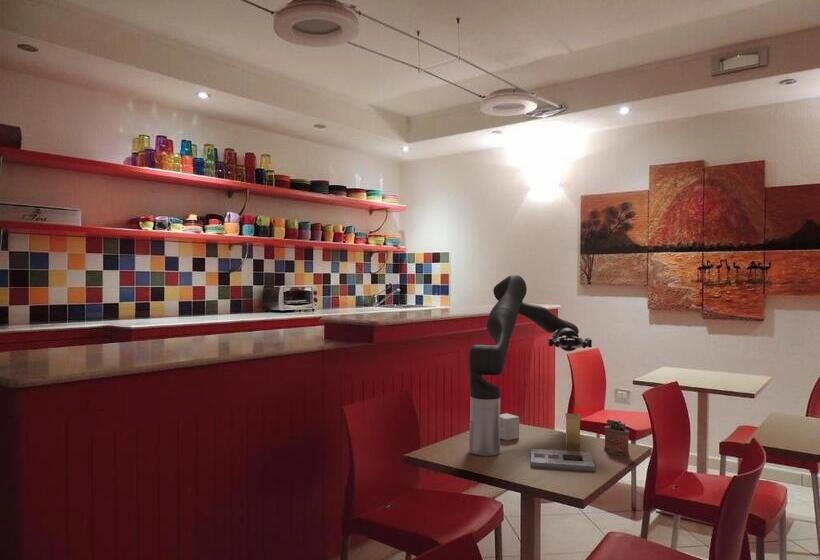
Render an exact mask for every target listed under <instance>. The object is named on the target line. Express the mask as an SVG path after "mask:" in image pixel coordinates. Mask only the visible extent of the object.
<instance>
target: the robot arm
mask: <svg viewBox="0 0 820 560" xmlns="http://www.w3.org/2000/svg"><path fill="white" fill-rule="evenodd" d="M526 283H527V282H526V281H525V279H524V278H523V277H522V276H520V274H519V275H518V274H511V275H508V276H507V277H505V278H504V279H502V280H501V281H500V282H498V283H497V284H496V285H495V286H494V287H493V290H492V291H493V292H492V293H493V296H494V297H495V299H496V300H497V302H496V304H495V305H494V306H493V308H492V309H491V310H490V312H489V314H488V317H487V320H486V330H487V332H488V334H489V336H490V338H491V339H492V340H493V341H494V343H495V345H494V344H491V345H489V344H473V345H472V346H471V347H470V350H469V354H468V355H469V356H468V366H469V367H468V368H469V390H470V391H469V392H470V395H469V396H470V397H469V398H470V401H469V402H470V404H469V405H470V409H469V410H470V412H469V415H470V416H469V424H468V425H469V427H468V428H469V429H468V430H469V432H468V433H469V439H468V441H469V443H468V445H469V446H468V447H469V449H468V450H469V451H468V453H469V454H473V455H477V456H482V457H491V456H492V457H493V456H497V455H499V454H500V453H501V438H500V415H501V389H500V388H499V386H497V385H495V384H493V383H491V382H489V381H487V380H486V379H485V378H484V377H483V376H500V375H501V374H502V373H503V372H504V370H505V366H506V363H507V356H508V351H509V346H510V343H511V342H510V341H511V338H512V335H513V332H514V329H515V326H516V322H517V318H518V314H519V315H520V316H522V317H525V318H527V319H529V320H530V321H532V322H533V323H535V324H536V325H538V327H540V328H541V329H542V330H544V332H547V333H550V334H552V333H553V335H552V336H549V337H548V346H549V347H553V346H554V347H555V348H559V349H560V348H561V349H562V350H563V351H566V352H572V351H575V350H577V349H578V348H579V349H581V348H582V349H586V348H592V347H593V345H592V343H593V342H592V341H593V339H591V338H590V337H587V338H585V339H583V337H580V336H579V327H578V326H577V325H576V324H575V323H573V322H570V321H568V320H564V319H562V318H560V317H558V316H557V315H555V314H554V313H553V311H551V310H550V309H548V308H546V307H543V306H540V305H538V304H537V305H536V304H532V303H527V302H524V299H525V297H526V295H527V290H528V288H527V284H526Z"/></svg>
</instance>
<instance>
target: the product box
mask: <svg viewBox="0 0 820 560" xmlns="http://www.w3.org/2000/svg"><path fill="white" fill-rule="evenodd" d="M519 438H520V416H518V415H514V414H510V413H502V414H501V413H500V440H501V439H502V440H504V441H511V440H516V439H519Z"/></svg>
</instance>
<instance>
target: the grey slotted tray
mask: <svg viewBox="0 0 820 560" xmlns="http://www.w3.org/2000/svg"><path fill="white" fill-rule="evenodd" d="M564 459H566V460H564ZM579 460H581V461H579ZM530 468H538V469H550V470H551V469H553V470H564V471H578V472H579V471H580V472H581V471H582V472H593V473H595V472H596V466H595V462H594V460H593V457H592V454H591V452H588V451H580V452H575V451H566V450H559V449H558V450H555V449H545V448H543V449H540V448H531V449H530Z"/></svg>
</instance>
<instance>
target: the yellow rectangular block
mask: <svg viewBox="0 0 820 560" xmlns="http://www.w3.org/2000/svg"><path fill="white" fill-rule="evenodd" d="M564 415H565V451H566V450H567V451H575V452H581V420H582V417H581V415H580V413H566V412H565V414H564Z"/></svg>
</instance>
